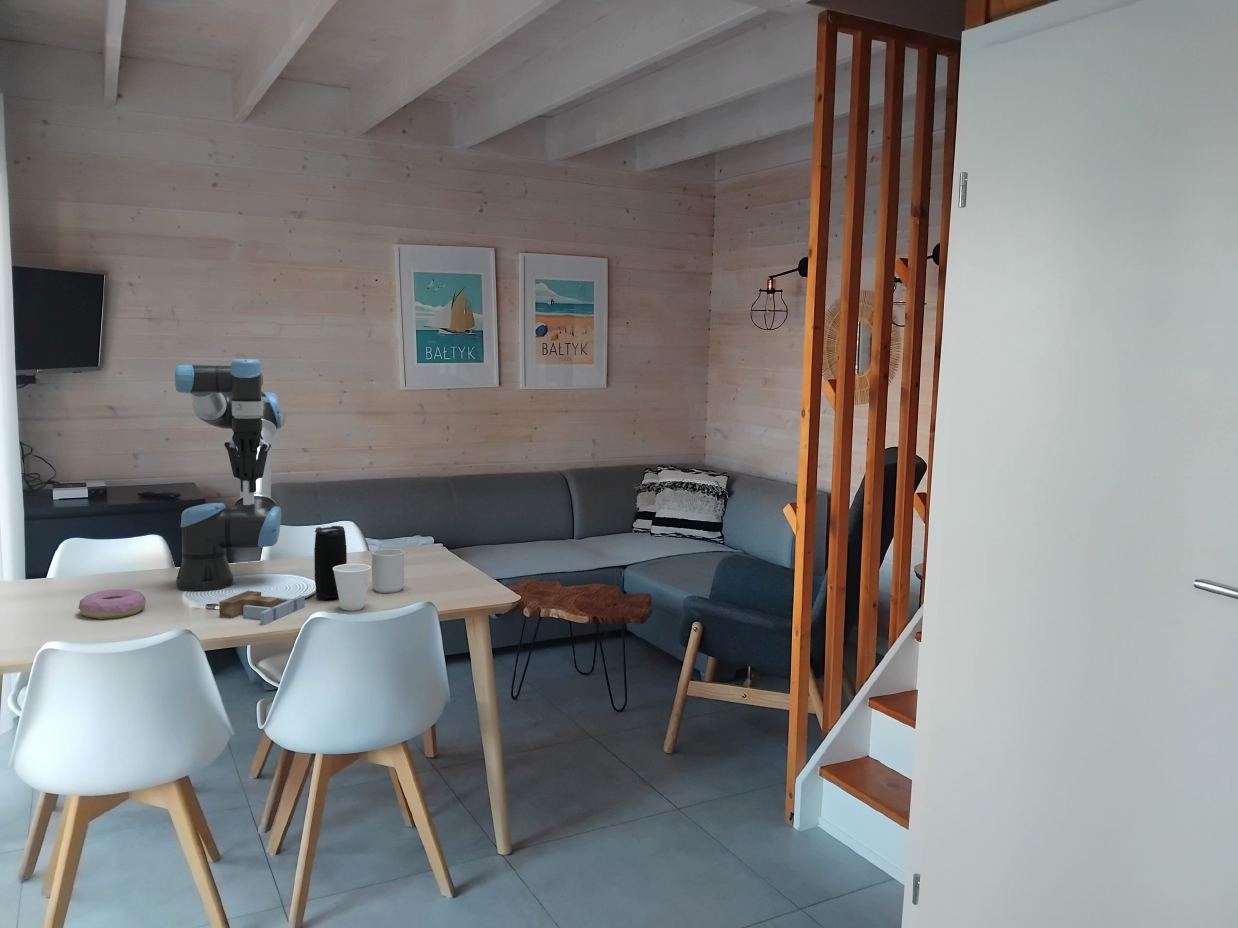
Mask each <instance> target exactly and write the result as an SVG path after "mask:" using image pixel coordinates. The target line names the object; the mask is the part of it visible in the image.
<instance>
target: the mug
mask: <svg viewBox="0 0 1238 928" xmlns="http://www.w3.org/2000/svg"><path fill="white" fill-rule="evenodd" d="M371 552H372V553H371V574H372V575H371V587H372V589H373V590H374V591H375V592H376V593H381V594H391V593H392V594H394V593H398V592H400V591H401V590H403V588H405V587H404V585H405V557H404V556H405V553H404V550H401V549H397V548H394V549H393V548H382V549H376V550H374V551H371Z"/></svg>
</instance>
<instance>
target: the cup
mask: <svg viewBox="0 0 1238 928" xmlns="http://www.w3.org/2000/svg"><path fill="white" fill-rule="evenodd" d="M371 570H372V565H369V564H367V563H366V564H364V563H347V564H343V565H338V566H335V567H333V571H334V575H335V580H336V586H337V591H338V597H339V599H338V601H339V607H340V608H341V609H342V610H344V611H351V612H352V611H359V610H361V609H363V608H364V607H365V603H366V598H367V597H366V596H367V592H368V591H367V590H368V584H369V580H370V579H369V578H370V572H371ZM338 597H337V598H338Z"/></svg>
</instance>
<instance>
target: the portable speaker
mask: <svg viewBox="0 0 1238 928" xmlns="http://www.w3.org/2000/svg"><path fill="white" fill-rule="evenodd" d="M314 533H315V534H314V535H315V536H314V549H313V550H314V551H313V552H314V559H313V560H314V583H315V586H314V587H315V594H316V599H317V600H319V601H327V600H328V599H329V598H338V600H339V597H338V591H337V586H336V580H335V575H334V571H333V567H335V566H338V565H343V564H348V563H347V561H348V560H347V559H348V558H347V556H348V554H347V553H348V552H347V539H346V531H345V527H344V526H341V525H331V526H328V527H322V526H321V527H320V526H319V527H316V528H315V531H314Z"/></svg>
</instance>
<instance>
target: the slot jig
mask: <svg viewBox="0 0 1238 928" xmlns="http://www.w3.org/2000/svg"><path fill="white" fill-rule="evenodd" d="M274 597H275V596H274ZM275 598H279V605H277V606H274V607H272V608H271V607H261V606H250V605H245V606H243V614H242V615H243V619H244V618H245V619H252V620H254V619H255V620H259V623H260V624H259V625H261V626H262V625H265V626H266V625H267V624H269V623H271V622H274V621H276V620H278V619H280V618H283V617H284V616H287V615H289V614H292V613H294V612H296V611H299V610H301V609H302V608H304V607H305V606H306V603H305V599H306V598H305V595H298V596H295V597H294V598H287V597H286V598H284V597H278V596H277V597H275Z"/></svg>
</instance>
